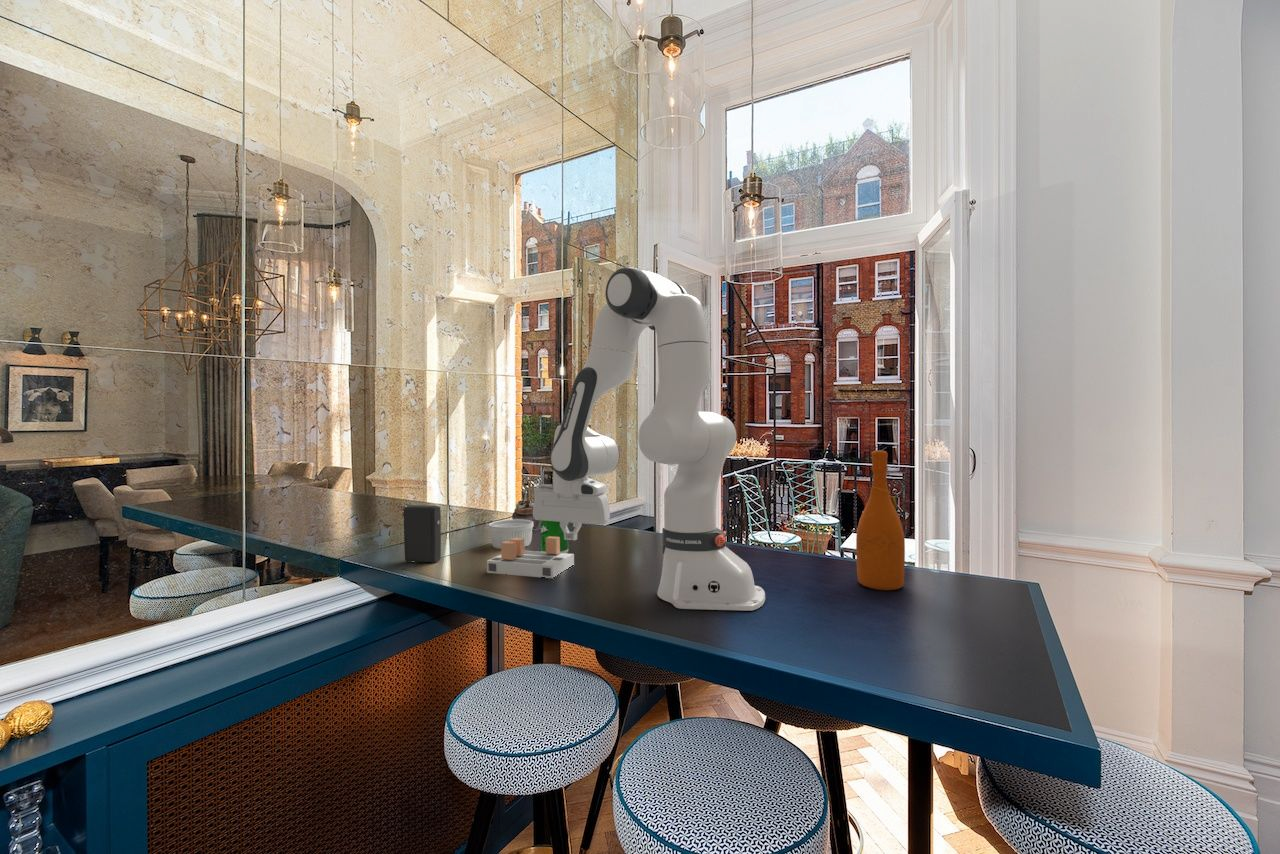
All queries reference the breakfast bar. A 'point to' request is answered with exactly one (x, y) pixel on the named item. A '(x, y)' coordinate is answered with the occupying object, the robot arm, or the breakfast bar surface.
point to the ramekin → (510, 531)
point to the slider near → (508, 550)
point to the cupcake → (525, 512)
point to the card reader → (422, 533)
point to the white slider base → (532, 564)
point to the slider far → (552, 545)
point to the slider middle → (519, 546)
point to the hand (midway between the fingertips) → (570, 539)
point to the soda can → (553, 535)
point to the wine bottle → (880, 534)
